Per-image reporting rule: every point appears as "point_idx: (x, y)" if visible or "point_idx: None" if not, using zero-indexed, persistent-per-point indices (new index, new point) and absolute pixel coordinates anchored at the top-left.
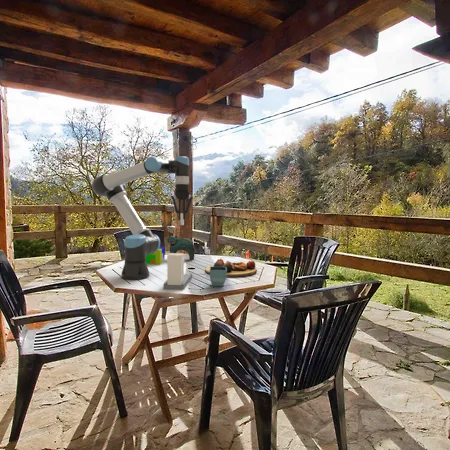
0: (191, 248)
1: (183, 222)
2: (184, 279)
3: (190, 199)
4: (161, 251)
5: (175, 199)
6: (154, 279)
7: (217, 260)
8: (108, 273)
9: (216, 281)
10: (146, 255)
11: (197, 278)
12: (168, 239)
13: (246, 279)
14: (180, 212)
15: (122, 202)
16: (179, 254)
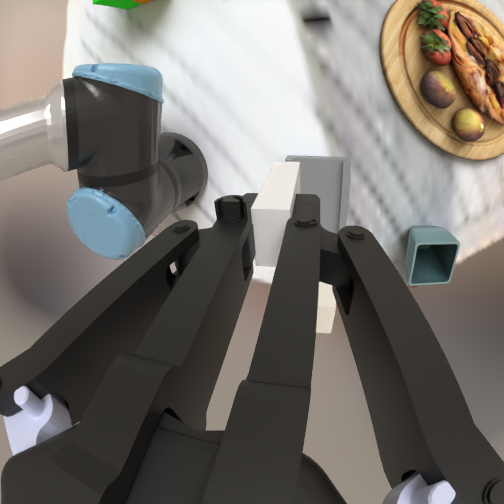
0: None
1: (298, 186)
2: (332, 217)
3: (414, 473)
4: None
5: (51, 375)
6: (235, 191)
7: (437, 50)
8: None
9: (418, 261)
10: (110, 5)
11: (367, 167)
12: None
13: (494, 180)
14: (251, 273)
15: None
16: (323, 321)
